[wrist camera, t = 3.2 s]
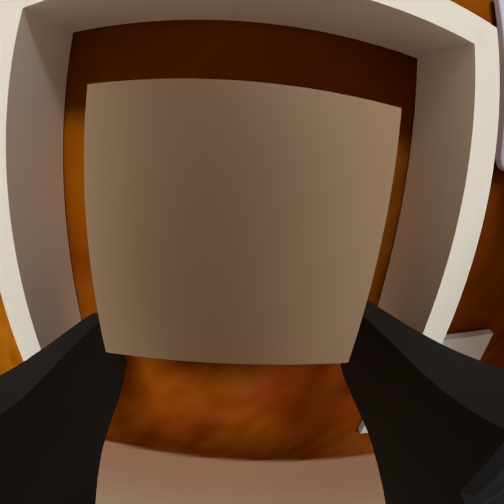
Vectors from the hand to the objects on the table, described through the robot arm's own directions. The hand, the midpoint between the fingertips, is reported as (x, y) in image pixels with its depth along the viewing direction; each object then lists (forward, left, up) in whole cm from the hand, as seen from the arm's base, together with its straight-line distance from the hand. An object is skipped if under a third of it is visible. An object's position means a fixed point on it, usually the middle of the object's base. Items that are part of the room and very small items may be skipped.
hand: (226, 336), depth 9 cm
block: (0, -4, -2) cm, 4 cm away
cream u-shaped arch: (0, -4, -1) cm, 5 cm away
